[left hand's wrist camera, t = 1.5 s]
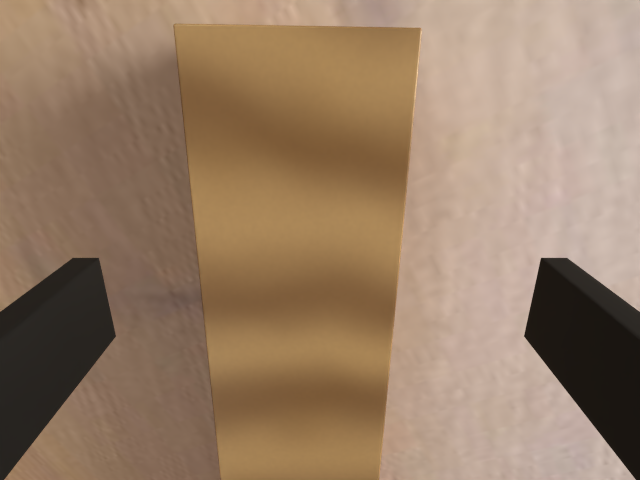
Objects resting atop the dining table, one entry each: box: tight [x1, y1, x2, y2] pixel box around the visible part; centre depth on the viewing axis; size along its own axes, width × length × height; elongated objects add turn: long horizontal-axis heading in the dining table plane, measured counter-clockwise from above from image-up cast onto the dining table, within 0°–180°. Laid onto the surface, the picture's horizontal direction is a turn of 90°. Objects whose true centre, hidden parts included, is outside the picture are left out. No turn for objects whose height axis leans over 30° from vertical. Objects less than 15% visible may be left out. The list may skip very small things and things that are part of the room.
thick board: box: [174, 24, 422, 480], centre depth 30 cm, size 55×10×7 cm, turn 179°
